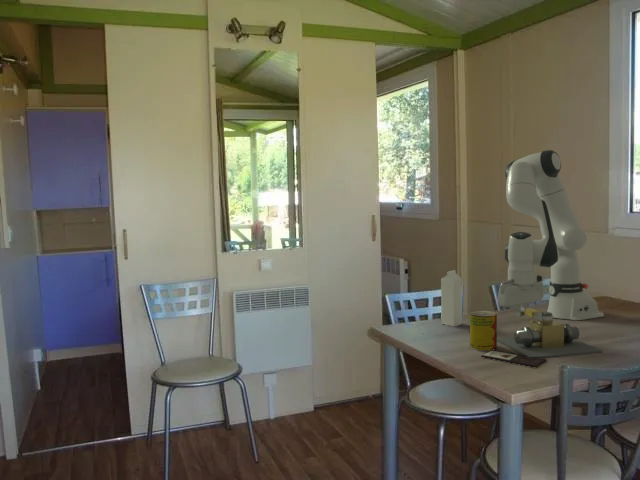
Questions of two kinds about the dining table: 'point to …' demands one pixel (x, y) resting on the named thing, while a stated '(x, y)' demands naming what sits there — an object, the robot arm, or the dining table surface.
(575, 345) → the mat
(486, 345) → the yellow tin can
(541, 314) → the lever
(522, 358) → the chocolate bar
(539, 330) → the valve body
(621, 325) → the dining table surface
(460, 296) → the milk
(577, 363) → the dining table surface
